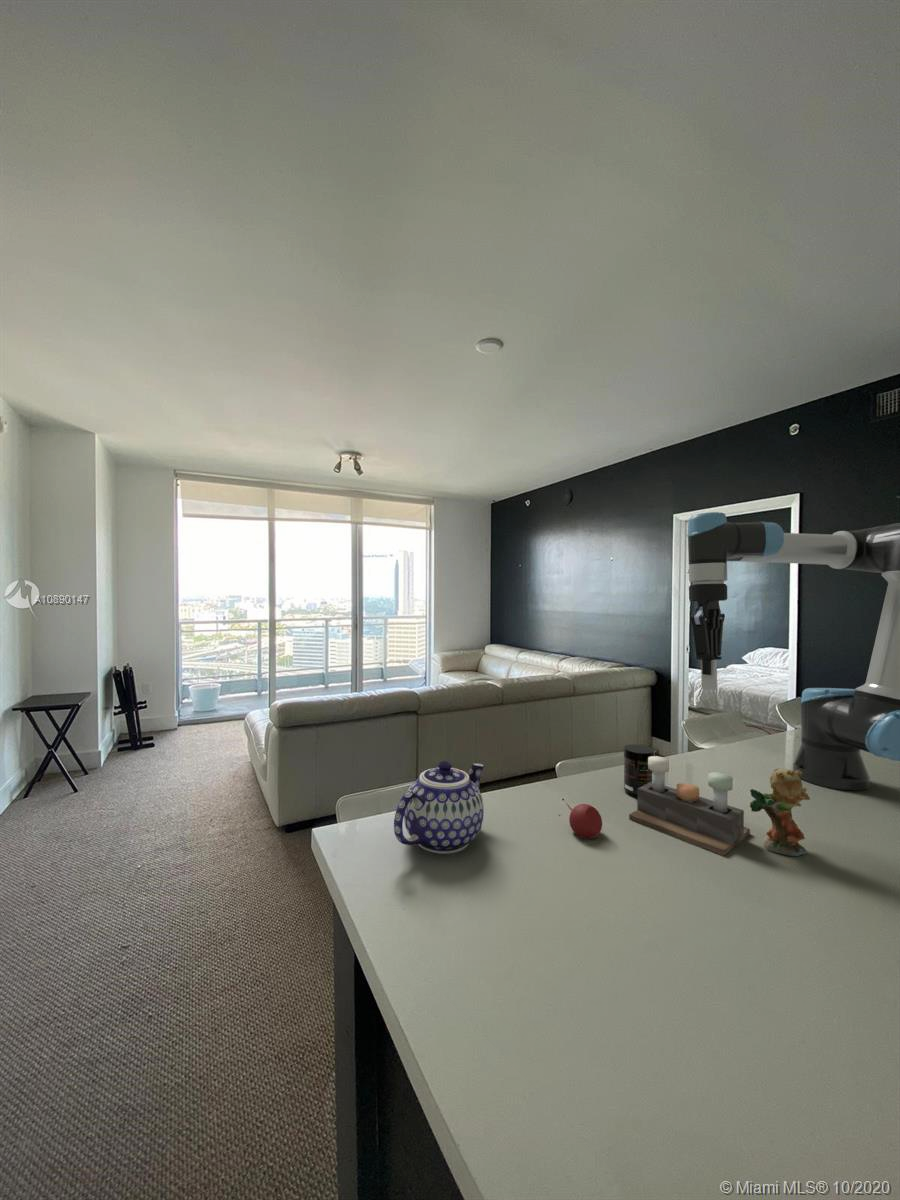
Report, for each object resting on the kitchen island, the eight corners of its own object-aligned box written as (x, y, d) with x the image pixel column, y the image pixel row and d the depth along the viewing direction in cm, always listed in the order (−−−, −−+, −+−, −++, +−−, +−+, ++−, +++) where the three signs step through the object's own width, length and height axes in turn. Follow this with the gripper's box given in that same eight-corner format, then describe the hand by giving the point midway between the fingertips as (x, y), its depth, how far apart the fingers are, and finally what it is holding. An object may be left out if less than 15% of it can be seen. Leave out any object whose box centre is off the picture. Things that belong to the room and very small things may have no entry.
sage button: (713, 803, 92) (713, 770, 92) (735, 810, 89) (735, 776, 89) (704, 809, 90) (704, 775, 90) (727, 817, 86) (727, 781, 86)
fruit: (587, 835, 94) (571, 794, 97) (610, 831, 90) (592, 788, 93) (569, 845, 90) (552, 802, 93) (591, 841, 86) (573, 796, 90)
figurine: (803, 844, 87) (803, 763, 87) (814, 864, 80) (814, 777, 80) (745, 833, 91) (745, 756, 91) (751, 852, 84) (752, 769, 84)
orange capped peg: (682, 813, 97) (682, 781, 97) (702, 820, 94) (702, 787, 94) (672, 818, 94) (673, 786, 94) (693, 826, 91) (693, 792, 91)
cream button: (653, 785, 101) (654, 754, 101) (672, 790, 98) (672, 759, 98) (644, 789, 99) (644, 758, 99) (663, 795, 96) (663, 764, 96)
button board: (658, 802, 105) (659, 778, 105) (749, 833, 91) (750, 805, 91) (629, 819, 97) (629, 792, 97) (723, 856, 83) (724, 824, 83)
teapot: (425, 887, 74) (425, 793, 74) (365, 852, 84) (365, 770, 84) (514, 828, 93) (514, 753, 93) (457, 806, 103) (457, 738, 102)
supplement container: (661, 795, 109) (661, 750, 109) (641, 801, 105) (642, 755, 105) (636, 785, 115) (636, 742, 115) (617, 791, 111) (617, 747, 111)
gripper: (701, 584, 112) (703, 683, 112) (677, 583, 103) (679, 690, 103) (736, 582, 106) (738, 687, 106) (714, 582, 98) (716, 695, 98)
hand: (709, 688), depth 105 cm, fingers closed
